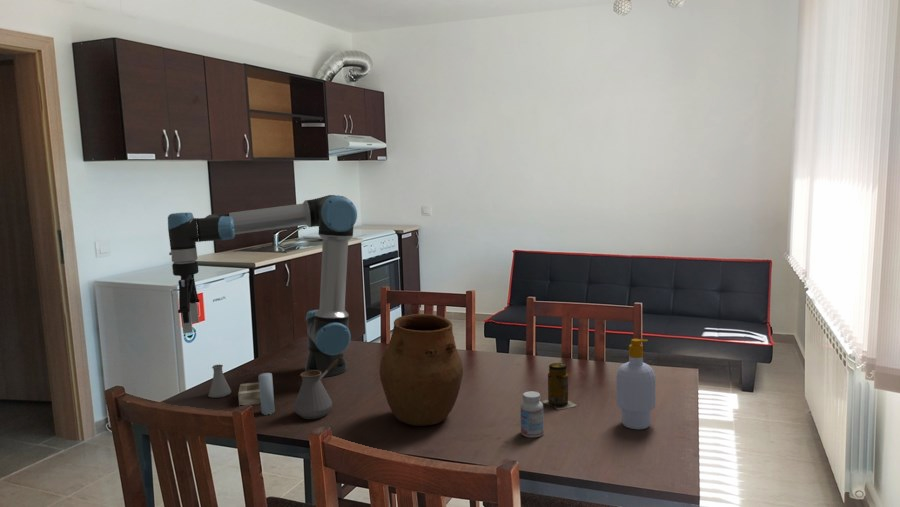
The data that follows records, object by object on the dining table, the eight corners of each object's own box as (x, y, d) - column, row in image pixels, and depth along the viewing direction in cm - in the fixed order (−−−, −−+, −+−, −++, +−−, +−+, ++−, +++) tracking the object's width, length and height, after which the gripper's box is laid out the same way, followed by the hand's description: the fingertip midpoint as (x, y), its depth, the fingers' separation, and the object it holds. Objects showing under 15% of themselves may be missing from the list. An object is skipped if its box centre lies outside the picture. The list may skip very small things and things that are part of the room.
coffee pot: (314, 424, 188) (311, 374, 186) (286, 417, 194) (282, 369, 192) (361, 400, 206) (358, 354, 204) (333, 395, 212) (330, 350, 210)
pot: (434, 443, 172) (430, 333, 168) (364, 427, 185) (358, 324, 181) (479, 412, 192) (476, 313, 188) (413, 399, 205) (408, 307, 201)
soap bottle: (658, 433, 173) (658, 345, 170) (618, 431, 175) (617, 344, 171) (652, 418, 183) (653, 335, 180) (615, 417, 185) (615, 334, 182)
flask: (224, 398, 213) (221, 369, 211) (204, 398, 214) (201, 368, 213) (235, 391, 220) (233, 362, 218) (216, 390, 221) (213, 362, 220)
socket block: (272, 392, 217) (271, 380, 217) (271, 402, 208) (270, 390, 207) (241, 395, 215) (240, 384, 214) (239, 406, 205) (238, 394, 205)
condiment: (561, 397, 202) (560, 360, 200) (577, 406, 195) (577, 367, 193) (541, 401, 199) (540, 364, 197) (557, 410, 191) (557, 371, 190)
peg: (274, 409, 201) (272, 372, 200) (274, 414, 197) (271, 376, 196) (261, 411, 200) (258, 373, 199) (261, 415, 196) (258, 377, 195)
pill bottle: (519, 430, 178) (518, 391, 177) (540, 428, 179) (540, 389, 177) (523, 439, 172) (522, 398, 171) (546, 437, 173) (545, 397, 171)
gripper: (179, 257, 215) (185, 320, 218) (164, 268, 191) (171, 338, 194) (202, 256, 217) (209, 317, 220) (191, 266, 193) (197, 335, 196)
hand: (191, 327), depth 207 cm, fingers open, 13 cm apart
